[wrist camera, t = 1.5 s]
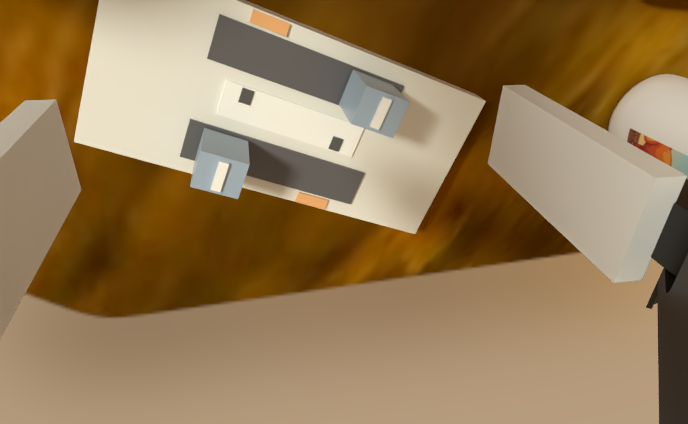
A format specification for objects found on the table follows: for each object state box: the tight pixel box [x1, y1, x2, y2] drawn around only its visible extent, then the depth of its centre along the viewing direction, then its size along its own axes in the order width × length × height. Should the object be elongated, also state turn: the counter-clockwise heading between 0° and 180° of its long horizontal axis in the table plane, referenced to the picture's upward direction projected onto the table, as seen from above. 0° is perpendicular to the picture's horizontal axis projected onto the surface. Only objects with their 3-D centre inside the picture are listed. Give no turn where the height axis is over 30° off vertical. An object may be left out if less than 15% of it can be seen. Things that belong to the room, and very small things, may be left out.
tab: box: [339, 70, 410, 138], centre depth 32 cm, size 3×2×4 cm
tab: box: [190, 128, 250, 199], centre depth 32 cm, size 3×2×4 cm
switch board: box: [74, 0, 486, 234], centre depth 35 cm, size 26×12×2 cm, turn 68°
